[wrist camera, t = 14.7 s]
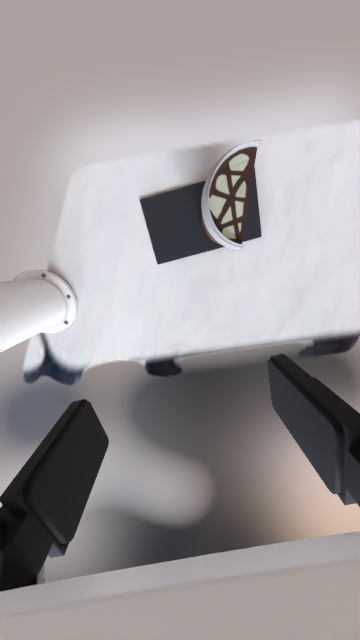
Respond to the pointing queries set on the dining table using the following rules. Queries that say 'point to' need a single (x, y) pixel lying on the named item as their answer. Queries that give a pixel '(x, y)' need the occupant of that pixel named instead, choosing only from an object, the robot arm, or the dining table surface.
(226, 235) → the food container
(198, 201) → the mat
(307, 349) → the dining table surface
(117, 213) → the dining table surface
